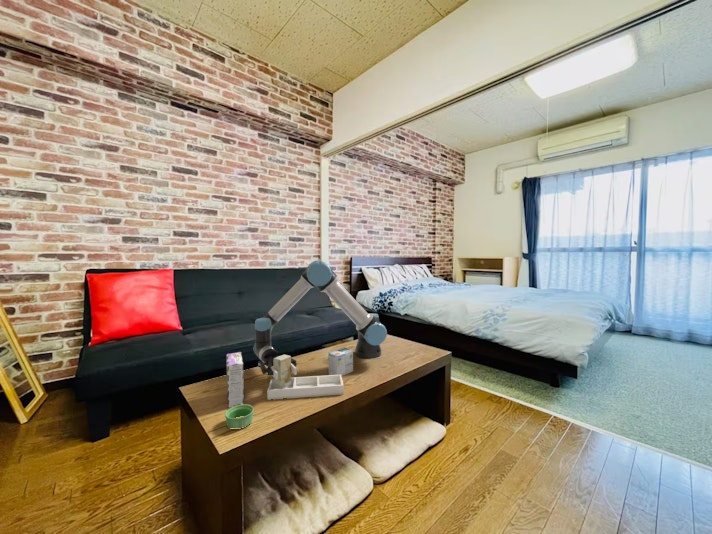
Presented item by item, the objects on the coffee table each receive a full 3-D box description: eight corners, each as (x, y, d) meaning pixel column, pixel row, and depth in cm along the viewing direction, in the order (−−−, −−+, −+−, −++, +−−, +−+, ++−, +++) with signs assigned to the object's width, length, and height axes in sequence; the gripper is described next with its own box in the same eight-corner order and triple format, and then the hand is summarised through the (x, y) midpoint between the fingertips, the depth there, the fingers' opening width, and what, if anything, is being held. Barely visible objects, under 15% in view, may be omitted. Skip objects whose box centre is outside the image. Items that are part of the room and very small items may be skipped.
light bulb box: (344, 367, 146) (344, 346, 146) (353, 371, 141) (353, 350, 141) (327, 374, 139) (327, 351, 138) (337, 378, 134) (336, 355, 133)
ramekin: (231, 416, 103) (230, 404, 103) (257, 415, 104) (256, 403, 103) (221, 432, 94) (220, 419, 94) (249, 431, 95) (249, 418, 94)
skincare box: (280, 390, 116) (280, 360, 116) (272, 387, 119) (272, 358, 118) (291, 384, 122) (291, 355, 121) (284, 381, 124) (284, 353, 124)
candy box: (227, 392, 121) (226, 353, 120) (242, 389, 123) (241, 351, 122) (227, 408, 108) (226, 365, 107) (244, 405, 111) (243, 362, 110)
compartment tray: (341, 382, 129) (341, 374, 129) (343, 394, 119) (343, 385, 119) (271, 387, 125) (271, 378, 125) (267, 399, 114) (267, 390, 114)
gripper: (290, 359, 141) (309, 376, 121) (247, 368, 130) (261, 389, 110) (289, 344, 140) (309, 359, 121) (246, 352, 129) (260, 370, 110)
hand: (286, 373), depth 116 cm, fingers closed on skincare box, 7 cm apart
